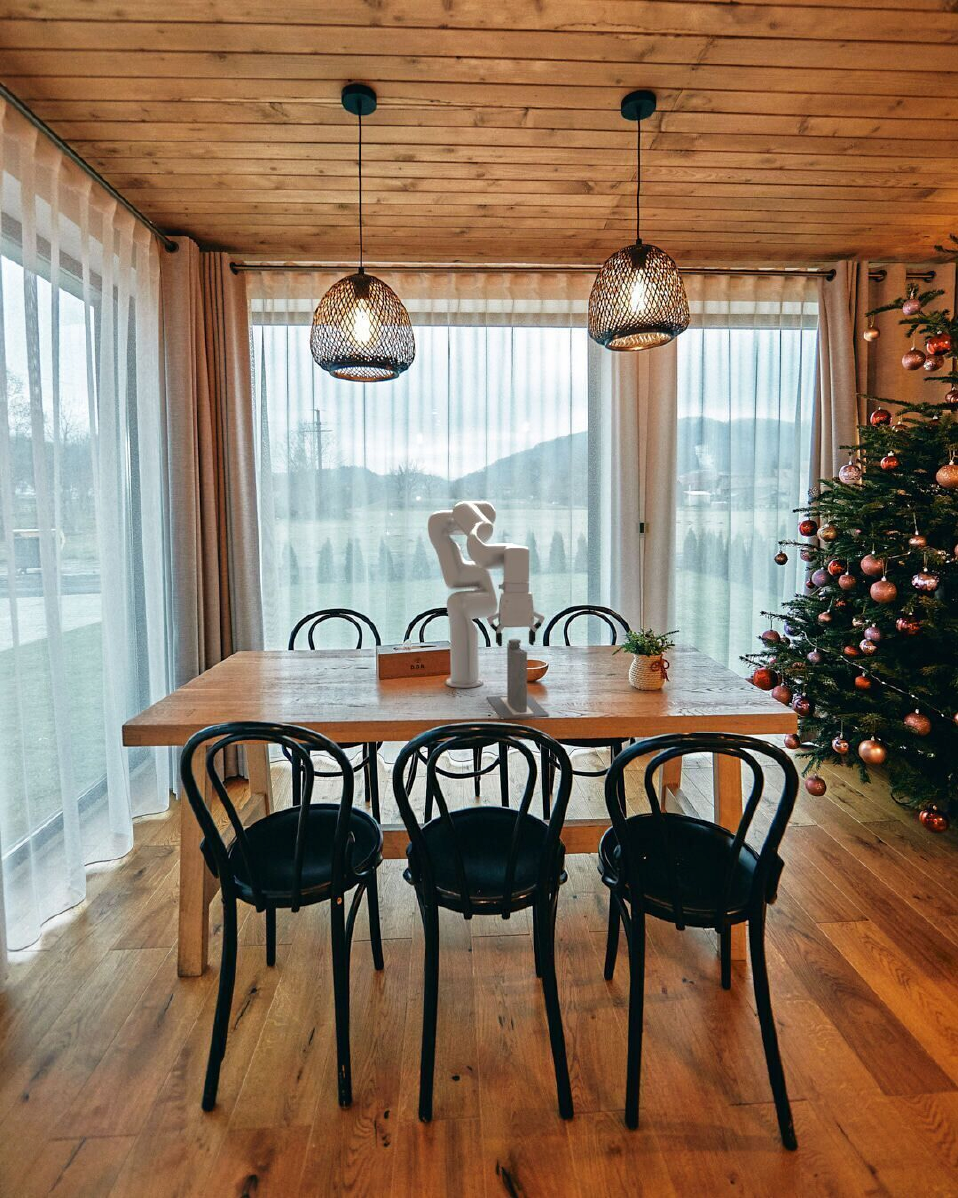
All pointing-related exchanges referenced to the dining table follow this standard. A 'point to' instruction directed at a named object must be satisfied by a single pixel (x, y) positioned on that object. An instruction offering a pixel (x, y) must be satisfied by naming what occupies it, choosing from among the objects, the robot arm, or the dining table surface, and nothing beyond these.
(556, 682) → the dining table surface
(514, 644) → the hip flask
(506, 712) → the mat
